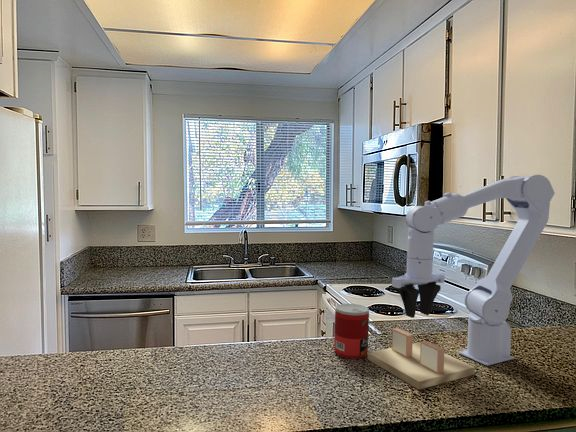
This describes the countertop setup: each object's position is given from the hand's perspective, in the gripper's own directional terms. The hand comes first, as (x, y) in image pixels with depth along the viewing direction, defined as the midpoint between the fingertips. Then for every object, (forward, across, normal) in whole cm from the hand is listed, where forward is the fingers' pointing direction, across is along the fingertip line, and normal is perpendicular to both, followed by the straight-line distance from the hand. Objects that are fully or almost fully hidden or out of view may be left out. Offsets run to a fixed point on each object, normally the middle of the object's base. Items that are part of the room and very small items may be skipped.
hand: (417, 315), depth 96 cm
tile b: (+8, +4, +9) cm, 13 cm away
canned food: (+10, +13, -8) cm, 18 cm away
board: (+10, +4, +4) cm, 11 cm away
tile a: (+8, +4, 0) cm, 9 cm away
